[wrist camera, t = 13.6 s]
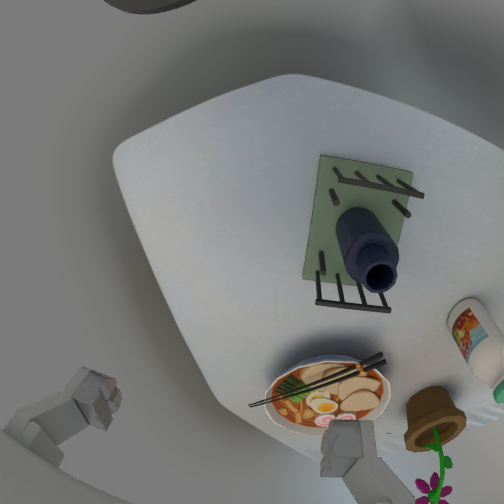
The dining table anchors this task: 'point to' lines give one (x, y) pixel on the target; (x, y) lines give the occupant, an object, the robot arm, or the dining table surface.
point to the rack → (341, 199)
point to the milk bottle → (479, 343)
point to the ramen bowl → (327, 393)
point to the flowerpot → (433, 435)
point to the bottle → (367, 249)
